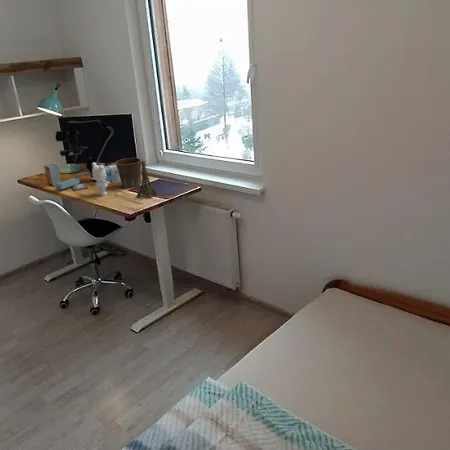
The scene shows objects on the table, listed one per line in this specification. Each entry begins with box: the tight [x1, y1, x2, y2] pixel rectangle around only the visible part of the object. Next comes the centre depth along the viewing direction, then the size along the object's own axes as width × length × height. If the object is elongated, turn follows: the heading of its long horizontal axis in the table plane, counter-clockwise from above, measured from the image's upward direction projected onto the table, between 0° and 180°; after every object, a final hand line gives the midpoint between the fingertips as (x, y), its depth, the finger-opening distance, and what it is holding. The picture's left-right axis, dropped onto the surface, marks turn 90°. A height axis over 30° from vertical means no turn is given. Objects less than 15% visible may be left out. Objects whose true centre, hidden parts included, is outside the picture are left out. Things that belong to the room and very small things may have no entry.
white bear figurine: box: [90, 162, 111, 196], centre depth 278 cm, size 8×20×19 cm, turn 47°
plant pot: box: [114, 157, 142, 189], centre depth 293 cm, size 16×16×16 cm
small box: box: [43, 163, 62, 186], centre depth 309 cm, size 8×6×13 cm
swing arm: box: [55, 176, 82, 190], centre depth 300 cm, size 5×17×3 cm, turn 149°
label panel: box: [71, 182, 90, 192], centre depth 299 cm, size 9×11×1 cm
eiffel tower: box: [134, 155, 160, 199], centre depth 270 cm, size 11×11×25 cm
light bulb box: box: [104, 164, 121, 186], centre depth 304 cm, size 11×7×11 cm, turn 130°
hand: (76, 164), depth 310 cm, fingers closed
